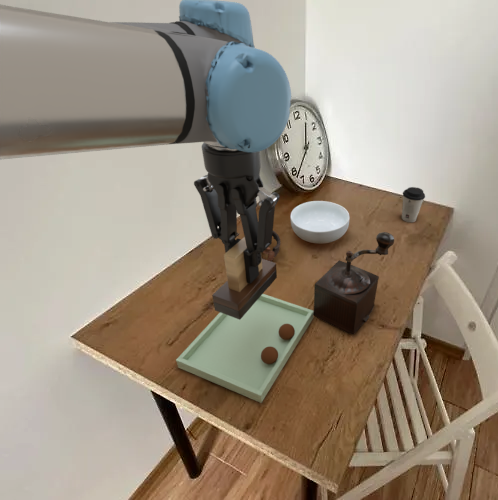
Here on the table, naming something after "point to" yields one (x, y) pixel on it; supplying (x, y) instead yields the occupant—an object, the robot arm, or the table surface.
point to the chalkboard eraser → (241, 283)
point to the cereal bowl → (319, 221)
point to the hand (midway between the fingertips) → (245, 275)
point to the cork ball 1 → (269, 355)
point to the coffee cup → (412, 203)
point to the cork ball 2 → (286, 331)
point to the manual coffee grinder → (349, 290)
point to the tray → (246, 347)
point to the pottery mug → (275, 250)
